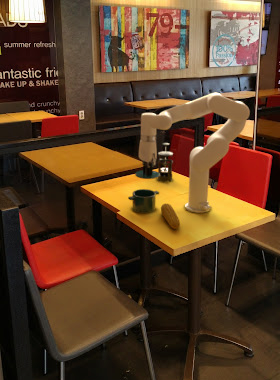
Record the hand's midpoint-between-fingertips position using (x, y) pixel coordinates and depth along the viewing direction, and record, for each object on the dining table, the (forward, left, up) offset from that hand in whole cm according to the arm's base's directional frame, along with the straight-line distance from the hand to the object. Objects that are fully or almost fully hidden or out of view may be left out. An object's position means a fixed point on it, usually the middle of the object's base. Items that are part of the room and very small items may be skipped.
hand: (147, 173), depth 198 cm
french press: (+29, -32, -18) cm, 47 cm away
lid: (0, 0, -1) cm, 1 cm away
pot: (-3, +4, -17) cm, 18 cm away
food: (-21, +1, -18) cm, 28 cm away
